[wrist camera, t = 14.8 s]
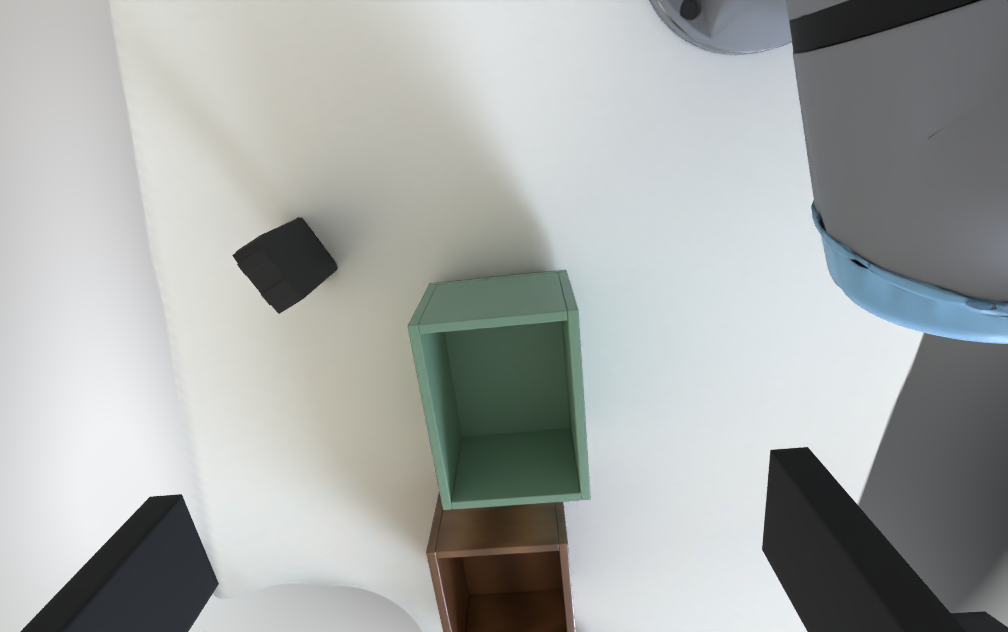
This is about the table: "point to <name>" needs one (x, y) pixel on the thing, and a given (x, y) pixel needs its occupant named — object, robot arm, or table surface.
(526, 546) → the bottom basket
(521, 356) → the box
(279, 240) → the ink cartridge
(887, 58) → the robot arm
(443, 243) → the table surface
